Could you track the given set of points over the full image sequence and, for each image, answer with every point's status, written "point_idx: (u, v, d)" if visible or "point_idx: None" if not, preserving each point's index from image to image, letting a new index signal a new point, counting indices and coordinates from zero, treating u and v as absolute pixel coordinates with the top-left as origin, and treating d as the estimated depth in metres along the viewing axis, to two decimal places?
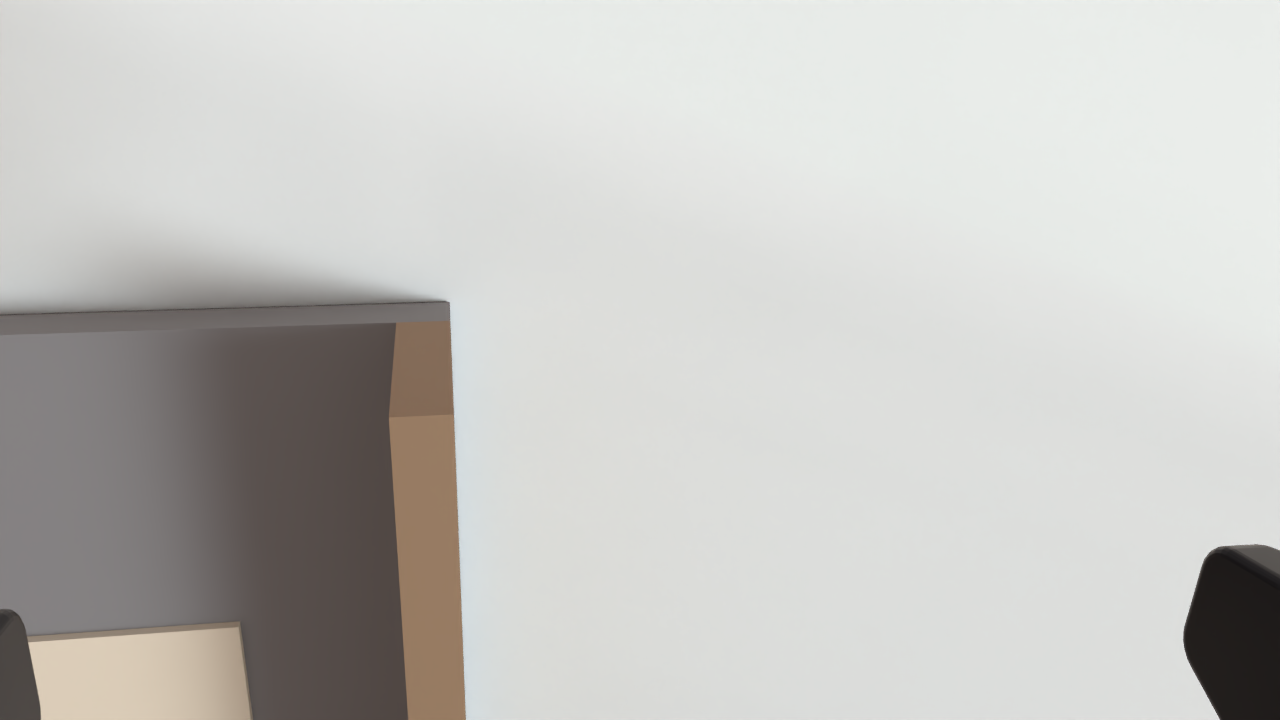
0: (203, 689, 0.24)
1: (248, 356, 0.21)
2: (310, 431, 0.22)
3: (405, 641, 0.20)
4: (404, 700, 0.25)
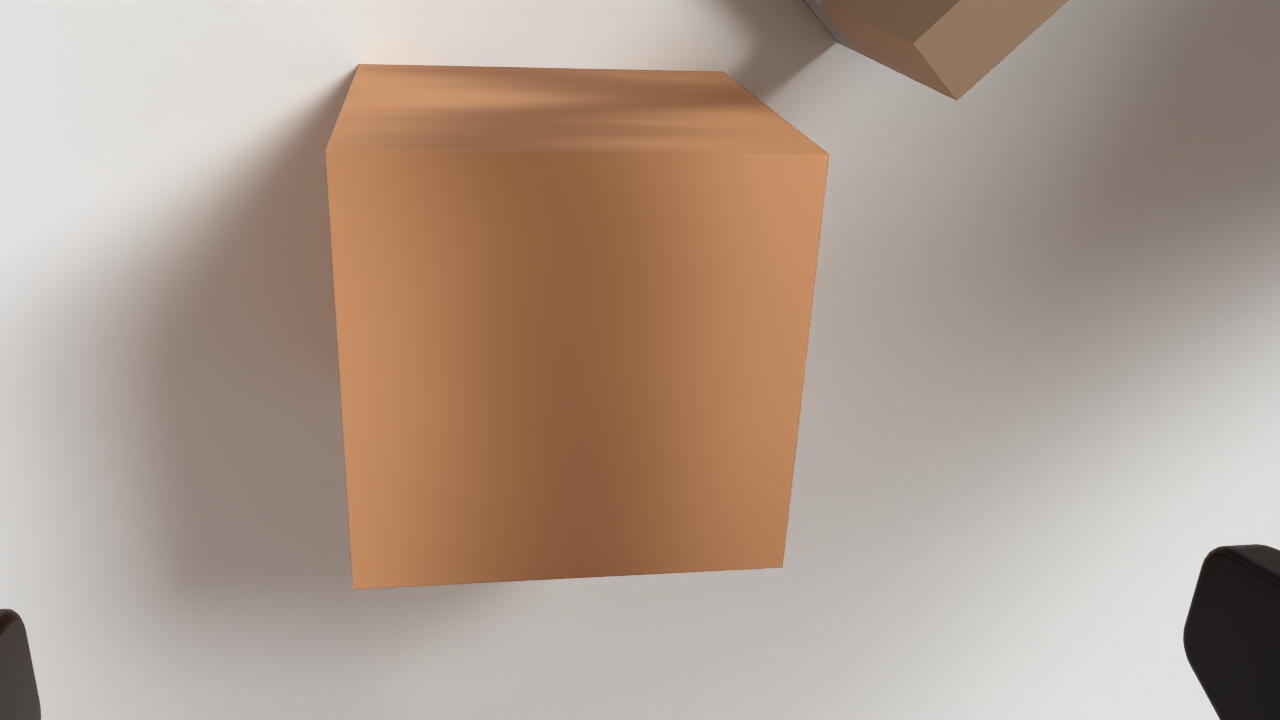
0: None
1: None
2: None
3: None
4: None
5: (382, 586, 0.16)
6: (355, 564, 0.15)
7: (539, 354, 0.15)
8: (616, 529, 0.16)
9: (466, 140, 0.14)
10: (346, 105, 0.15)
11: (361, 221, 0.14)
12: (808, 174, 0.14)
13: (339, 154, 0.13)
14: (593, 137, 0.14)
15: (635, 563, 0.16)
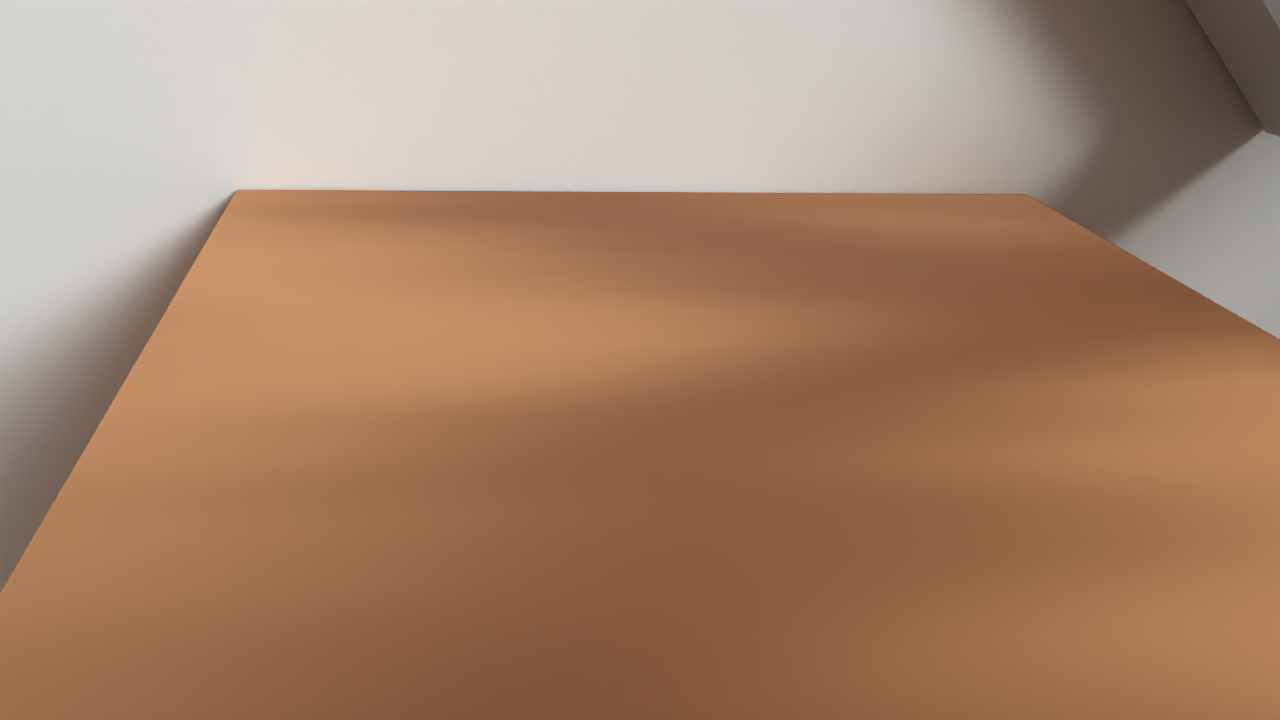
0: None
1: None
2: None
3: None
4: None
5: None
6: None
7: None
8: None
9: (515, 675, 0.03)
10: (127, 396, 0.05)
11: None
12: None
13: None
14: (969, 594, 0.04)
15: None
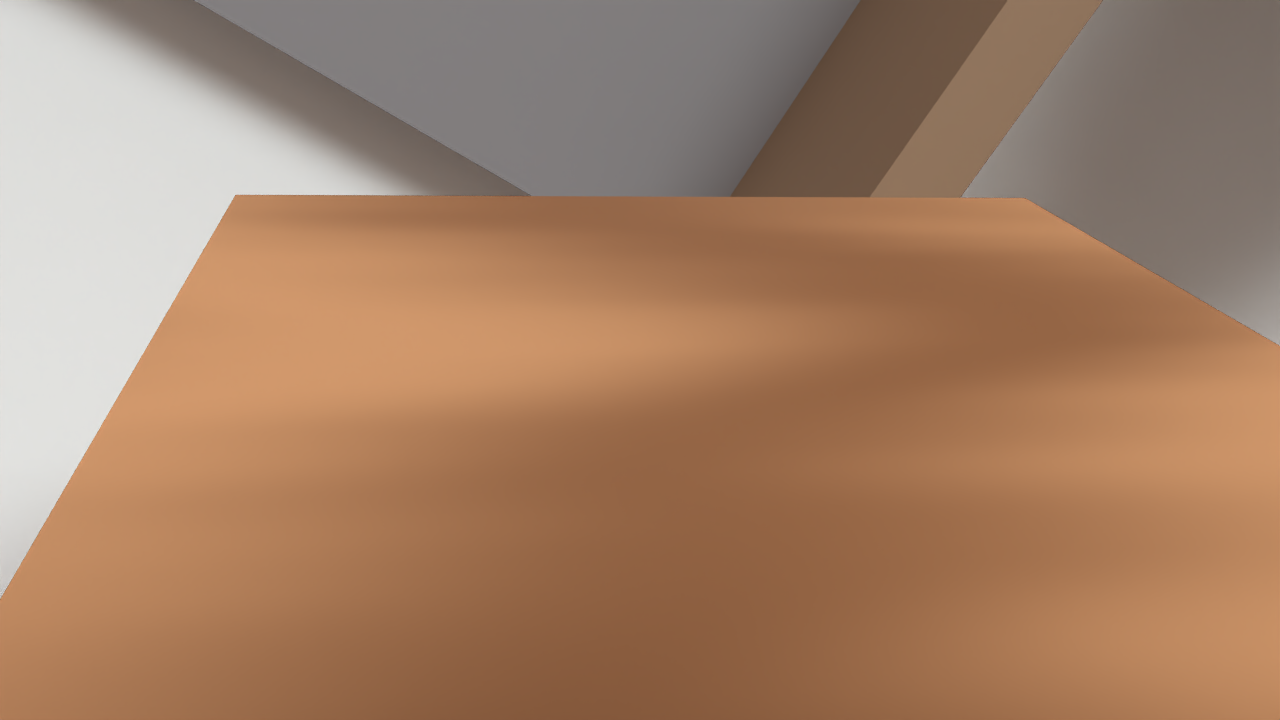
0: None
1: None
2: None
3: None
4: None
5: None
6: None
7: None
8: None
9: (512, 686, 0.03)
10: (125, 404, 0.05)
11: None
12: None
13: None
14: (965, 602, 0.04)
15: None
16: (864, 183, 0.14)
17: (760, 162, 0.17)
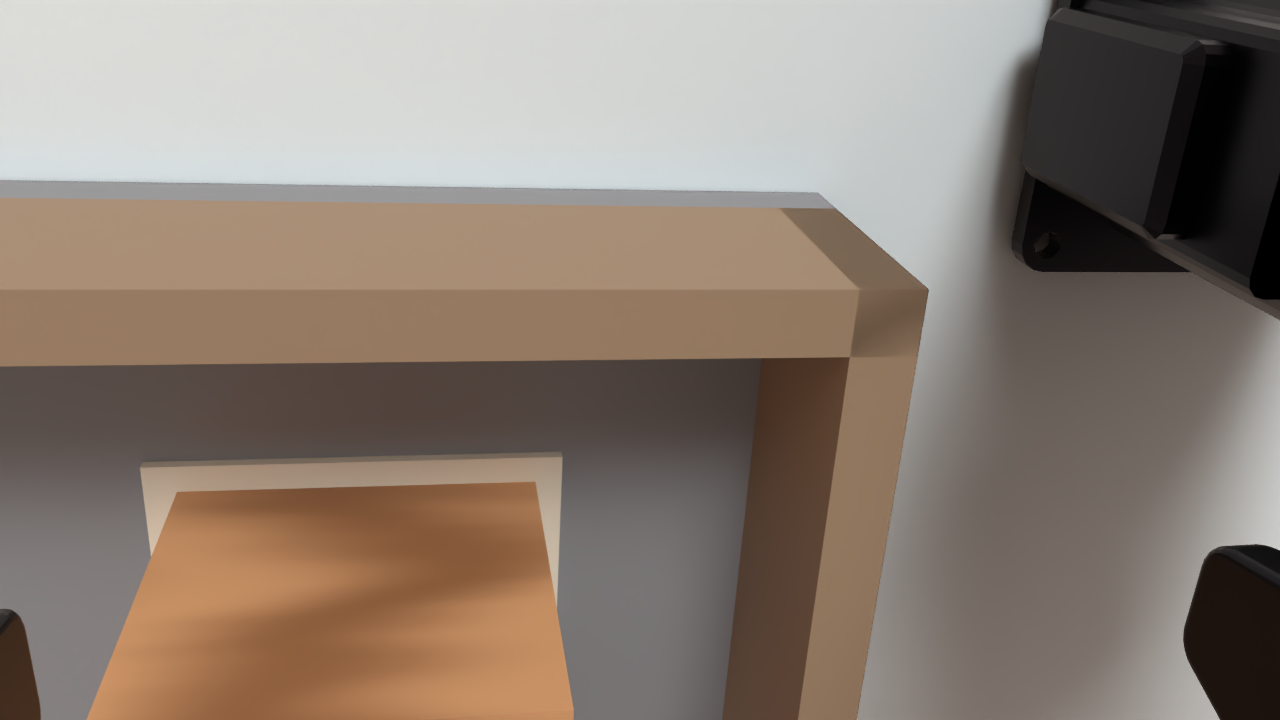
0: None
1: None
2: None
3: None
4: None
5: None
6: None
7: None
8: None
9: (224, 703, 0.15)
10: (132, 613, 0.16)
11: None
12: None
13: None
14: (354, 682, 0.15)
15: None
16: None
17: None
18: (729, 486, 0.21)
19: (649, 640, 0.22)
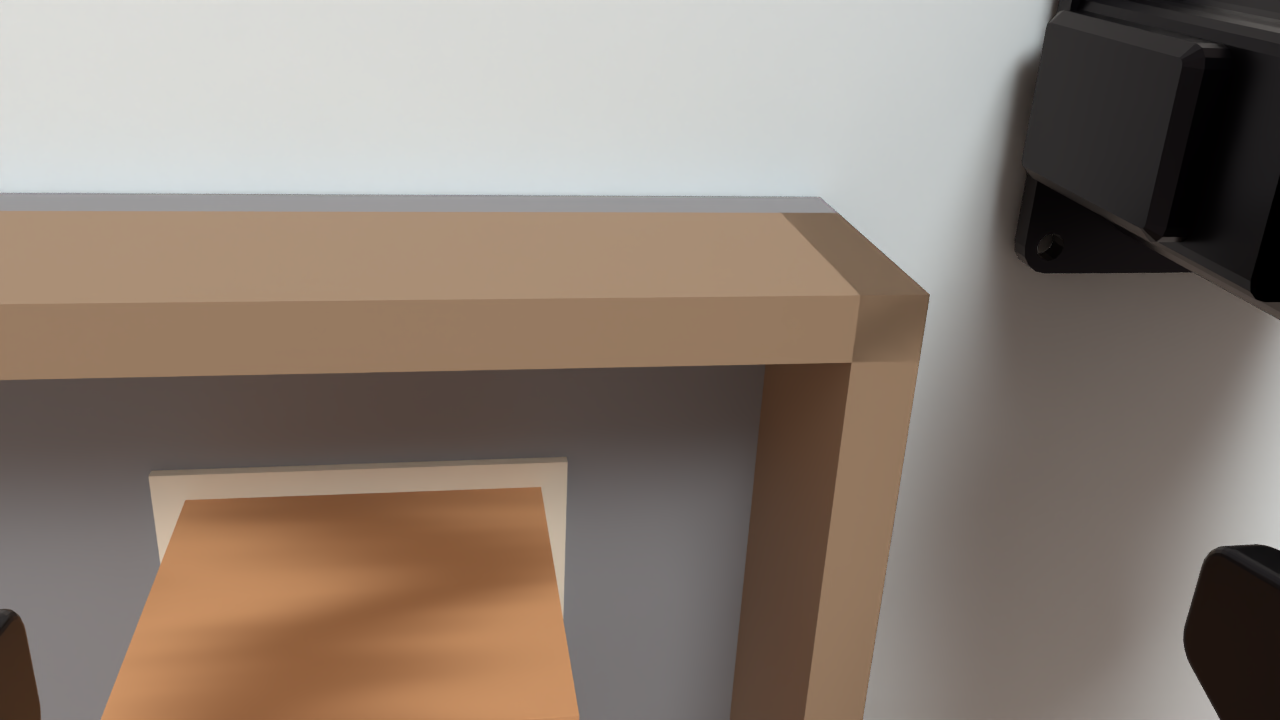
0: None
1: None
2: None
3: None
4: None
5: None
6: None
7: None
8: None
9: (233, 711, 0.15)
10: (141, 622, 0.16)
11: None
12: None
13: None
14: (361, 689, 0.15)
15: None
16: None
17: None
18: (734, 490, 0.21)
19: (656, 643, 0.22)
